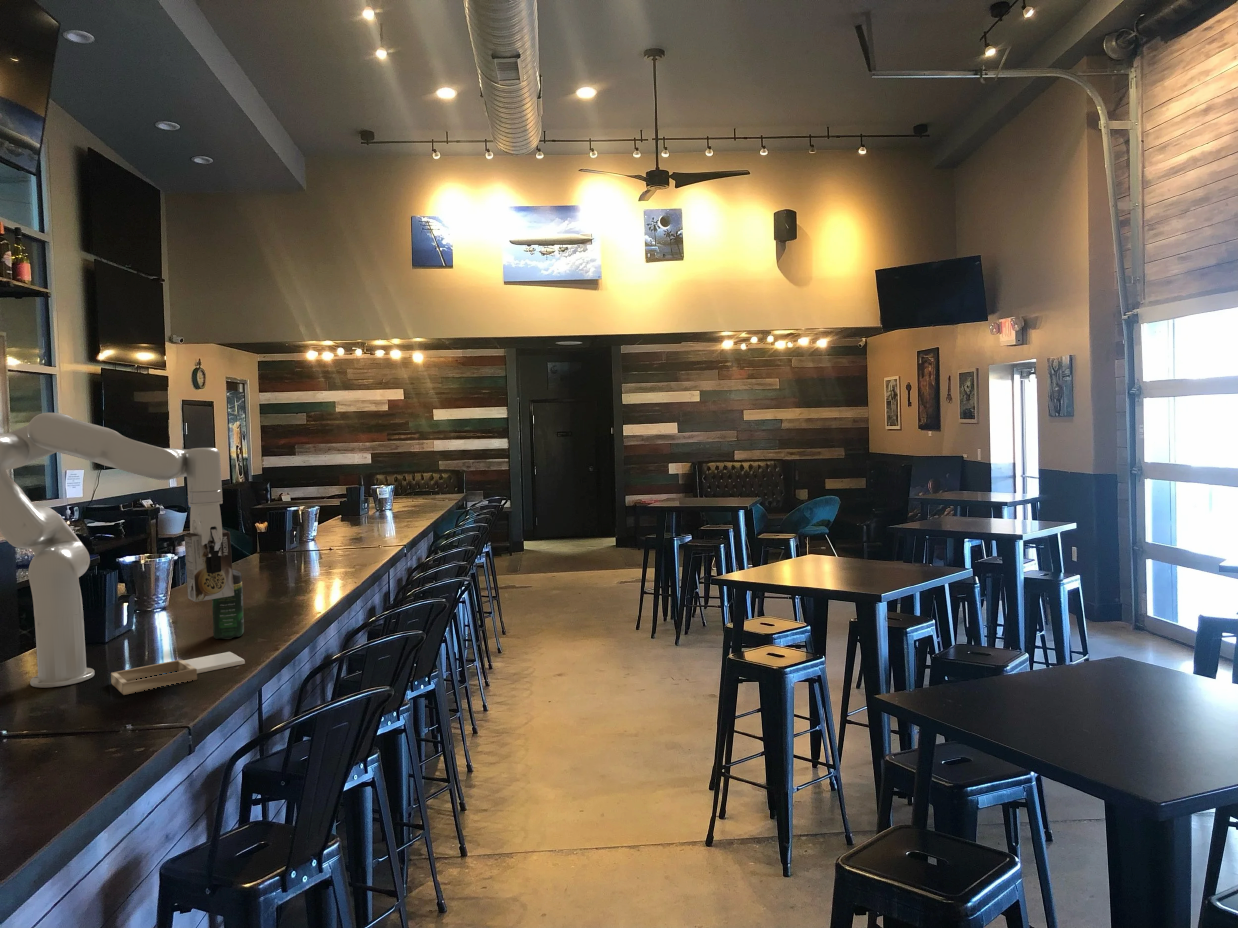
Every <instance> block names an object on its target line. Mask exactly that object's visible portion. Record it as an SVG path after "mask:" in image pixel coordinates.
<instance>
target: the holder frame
mask: <svg viewBox="0 0 1238 928" xmlns="http://www.w3.org/2000/svg"><path fill="white" fill-rule="evenodd" d="M174 671H177V672H174ZM169 672H172V673H169ZM163 673H167V674H163ZM159 674H162V675H159ZM154 675H157V676H154ZM150 676H152V677H150ZM145 677H147V678H145ZM140 678H142V679H140ZM136 679H137V680H136ZM192 680H193V681H196V680H198V673H197V669H196V668H194V667H193V666H191V665H190V664H188V663H186V662H185V661H184V660H183V659H182V658H181V659H176V660H171V661H166V662H161V663H155V664H150V665H145V666H140V667H133V668H128V669H123V670H118V671H114V672H113V671H112V672H111V673H110V681H111V685H112V686H113V687H115V688H116V689H117V690H118V692H120V693H121V694H122V695H123V696H125V695H129V694H135V692H136V693H140V692H145V691H149V690H148V689H150V690H154V689H153V688H155V689H157V687H160V688H162V687H161V686H164V687H167V686H166V685H169V686H172V685H171V684H174V685H177V684H176V683H179V684H182V683H181V682H184V683H187V681H188V682H192ZM144 690H145V691H144Z"/></svg>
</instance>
